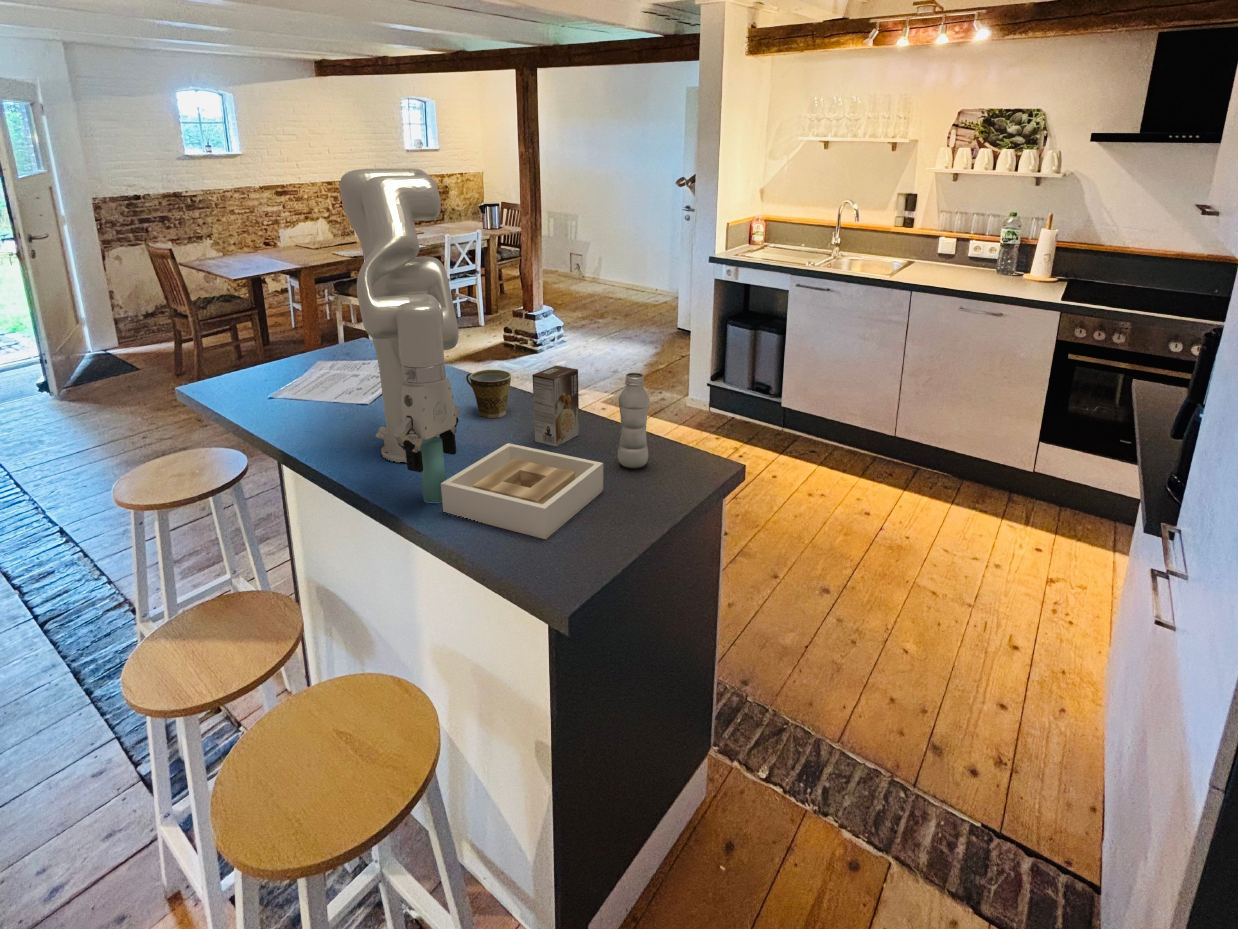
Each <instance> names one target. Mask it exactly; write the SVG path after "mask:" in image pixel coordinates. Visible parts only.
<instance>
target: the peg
mask: <svg viewBox="0 0 1238 929" xmlns="http://www.w3.org/2000/svg"><path fill="white" fill-rule="evenodd" d="M419 451H421V452H422V461H423V471H422V472H420V477H421V486H422V497H423V501H424V500H425V501H427V502H441V501H442V491H441V483H442V482H444V481H446V480H447V479H446V471H445V470H446V468H445V459H444V458H445V457H444V453H443V444H442V439H441V438H440V436H435V437H433V438H431V439H428V440H422V442H421V445H420V448H419Z"/></svg>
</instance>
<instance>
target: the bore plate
mask: <svg viewBox="0 0 1238 929" xmlns="http://www.w3.org/2000/svg"><path fill="white" fill-rule="evenodd" d="M574 480H575V472H572V471H567V470H563V469H558V468H554V467H549V466H544V465H540V464H535V463H531V462H526V461H521V460H517V459H513V460H511V461H510V462H508V463H507V464H505V465H504V466H502V467H500V468H499V469H497V470H496V471H494V472H493V473H491V474H489V475H488V476H486V477H485V478H483V479H482V480H480V481H478V482H477V483H475V484H474V485H472V487H473V488H476V489H481V490H485V491H489V492H493V493H497V494H501V495H505V496H510V497H514V498H518V499H522V500H526V501H530V502H534V503H539V504H544V503H545V502H546V501H548V500H549V499H550V498H552V497H553V496H554V495H556V494H557V493H558V492H559V491H561V490H562V489H563V488H565V487H566V486H567V485H568V484H570V483H571V482H572V481H574Z"/></svg>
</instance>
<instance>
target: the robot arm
mask: <svg viewBox="0 0 1238 929" xmlns="http://www.w3.org/2000/svg"><path fill="white" fill-rule="evenodd" d="M339 194H340V199H341V202H342V207H343V211H344V213H345V215H346V217H347V219H348V222H349V224H350V226H351V227H352V229H353V231H354V233H355V235H356V236H357V238H358V241H359V242H360V246H361V250H362V255H363V260H364V262H363V263H362V264H361V267H360V270H359V271H358V275H357V279H356V280H357V281H356V295H357V300H358V306H359V310H360V315H361V316H360V317H361V320H362V325H363V327H364V330H365V332H366V334H367V335H368V336H370V337H371V339H372V340H371V341H372V344H373V347H374V351H375V355H376V358H377V364H378V370H379V377H380V386H381V393H382V401H383V402H382V403H383V411H384V413H383V414H384V421H385V426H380V427H379V428H378V431H377V432H376V433H375V439H378V440H383V441H384V442H383V443H384V445H383V446H382V447H381V449H380V451H381V455H383V456H382V457H383V458H384V459H385V458H386V459H385V460H387V459H388V461H389V460H390V462H393V461H395V462H394V463H400V462H405V463H406V467H407V470H408V471H411V472H416V473H421V472H422V471H423V461H422V452H421V451H419V448H420V445H421V442H422V440H428V439H431V438H433V437H438V436H439V438H441V439H442V444H443V454H448V455H452V456H454V455H456V454H457V444H456V433H457V432H458V430H457V426H458V424H459V422H460V420H459V417H460V412H461V407H460V406H458V405H456V404H455V398H454V392H453V389H452V384H451V382H450V379H449V376H448V375H447V374H446V362H445V351H449V350H453V349H454V348H455V347H456V346H457V345H458V342H459V335H460V334H459V333H460V332H459V325H458V319H457V316H456V311H455V306H454V305H455V304H454V302H453V297H452V290H451V287H450V282H449V277H448V274H447V270H446V268H445V266H444V264H443V263H442V261H440V260H439V259H438V258H436V257H433V256H418V254H419V252H420V242H419V239H418V233H417V231H416V226H415V222H416V221H417V222H418V221H419V222H420V221H434V220H436V219H438V217H439V215H440V213H441V206H442V202H441V196H440V192H439V188H438V186H437V184H436V182H435V180H434V179H433V178H432V176H430V175H429V174H428V173H427V172H425V171H424V170H423V169H420V168H360V169H353V170H350V171H348V172H346V173H344V174H343V175H342V176H341V178H340V181H339ZM405 463H404V464H405Z"/></svg>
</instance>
